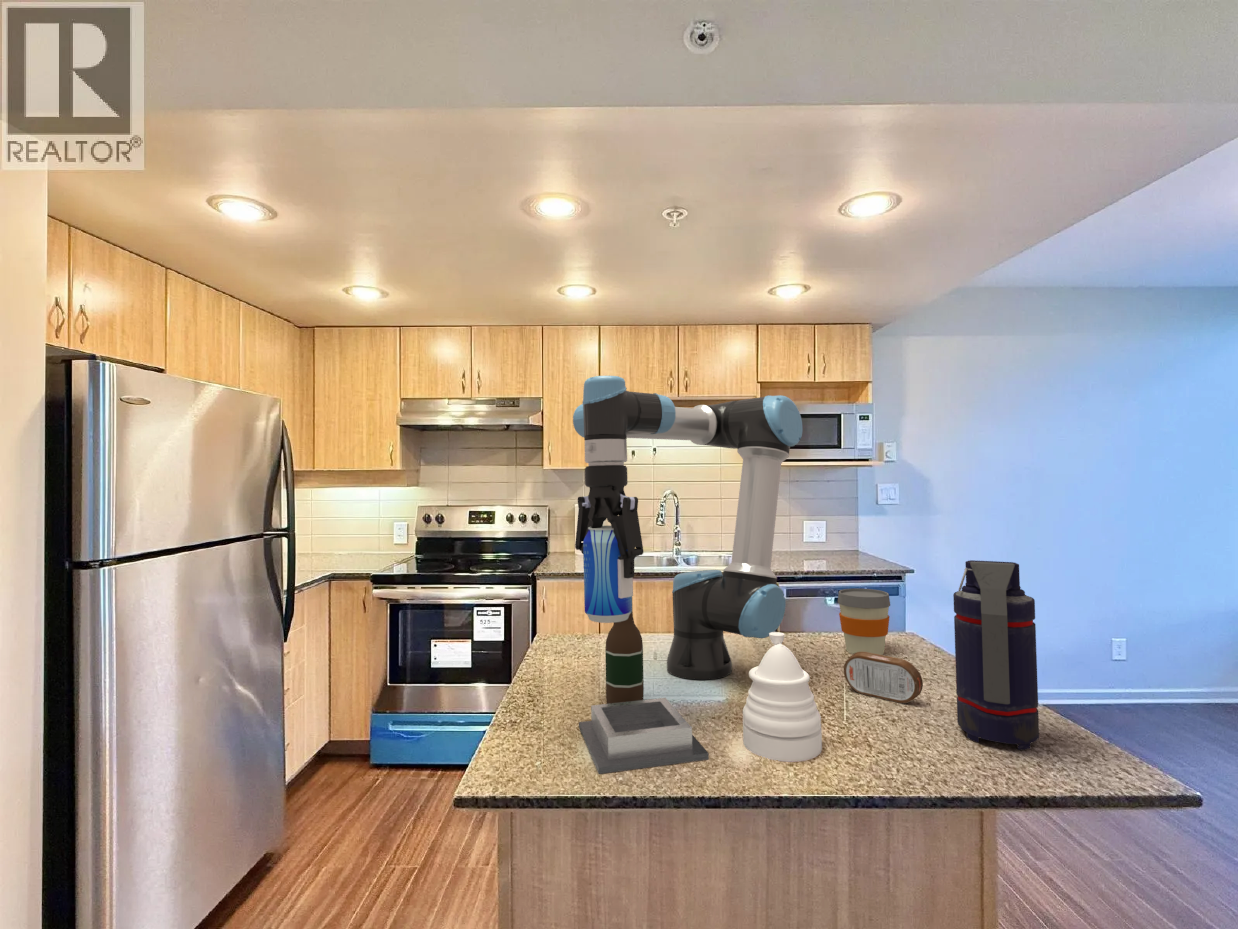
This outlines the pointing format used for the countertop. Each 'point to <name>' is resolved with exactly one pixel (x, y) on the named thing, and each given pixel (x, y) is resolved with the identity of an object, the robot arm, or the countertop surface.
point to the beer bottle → (624, 663)
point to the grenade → (996, 655)
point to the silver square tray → (639, 736)
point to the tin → (883, 677)
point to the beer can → (603, 577)
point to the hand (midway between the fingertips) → (608, 593)
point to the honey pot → (781, 708)
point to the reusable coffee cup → (864, 619)
